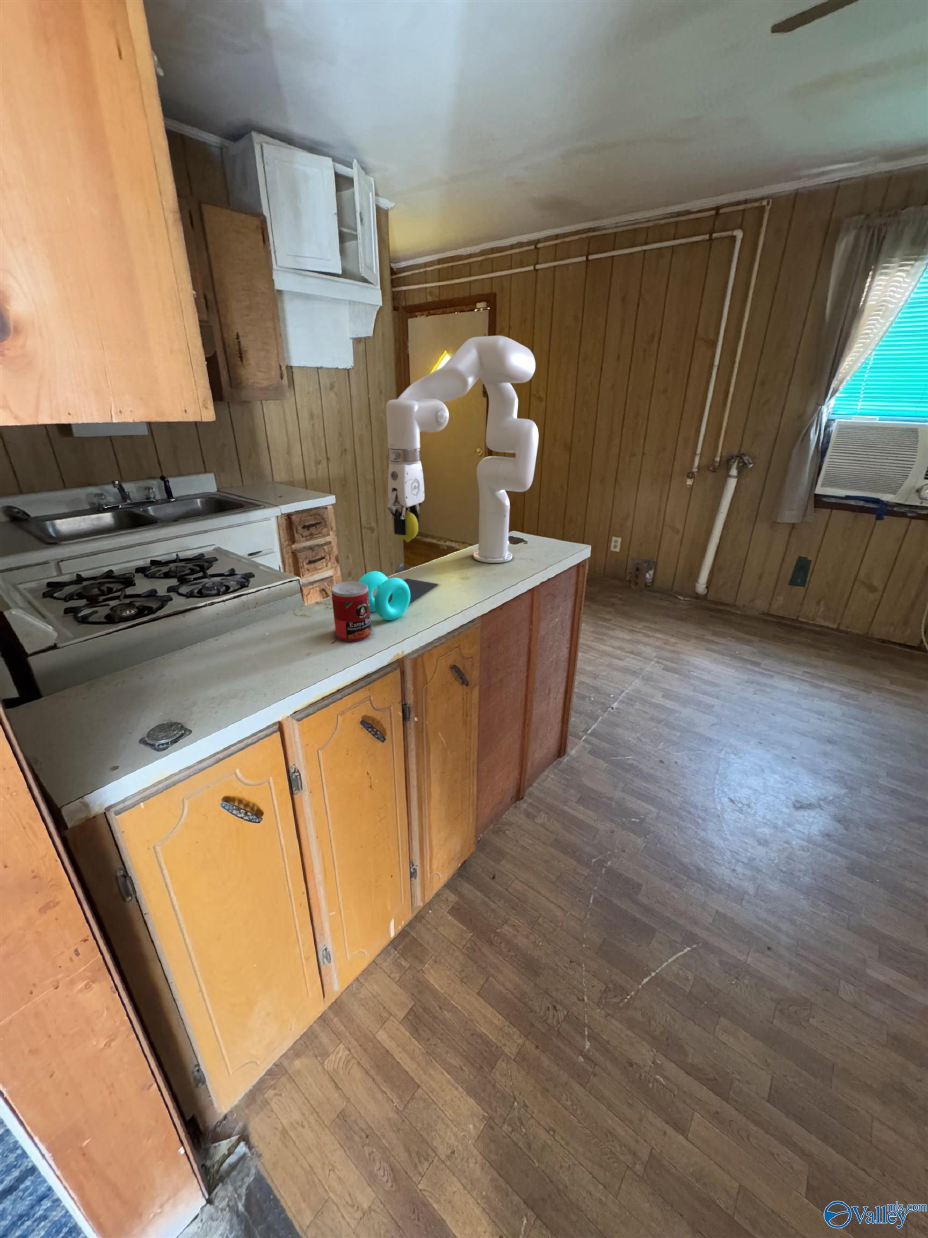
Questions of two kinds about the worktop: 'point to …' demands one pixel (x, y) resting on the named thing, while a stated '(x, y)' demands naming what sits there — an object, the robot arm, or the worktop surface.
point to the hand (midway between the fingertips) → (407, 530)
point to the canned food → (351, 610)
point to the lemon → (410, 526)
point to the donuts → (386, 595)
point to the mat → (416, 589)
